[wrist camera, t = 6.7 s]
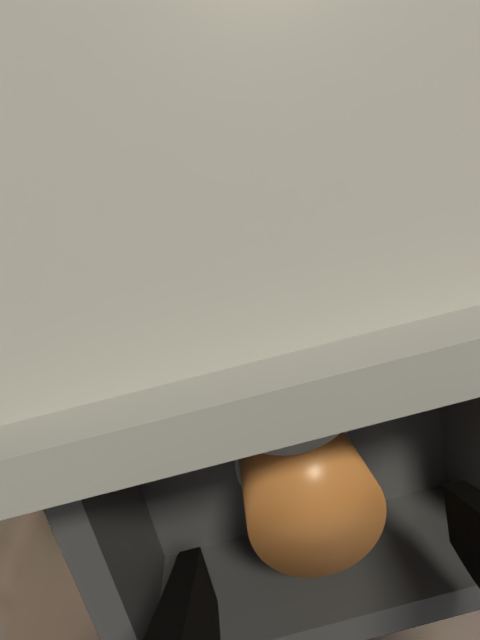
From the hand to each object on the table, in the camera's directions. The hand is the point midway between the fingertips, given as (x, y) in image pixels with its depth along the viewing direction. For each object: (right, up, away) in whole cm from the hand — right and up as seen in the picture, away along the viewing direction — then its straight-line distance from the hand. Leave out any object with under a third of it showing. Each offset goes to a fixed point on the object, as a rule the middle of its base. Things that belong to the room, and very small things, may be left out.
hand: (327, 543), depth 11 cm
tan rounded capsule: (-1, +2, +4) cm, 4 cm away
